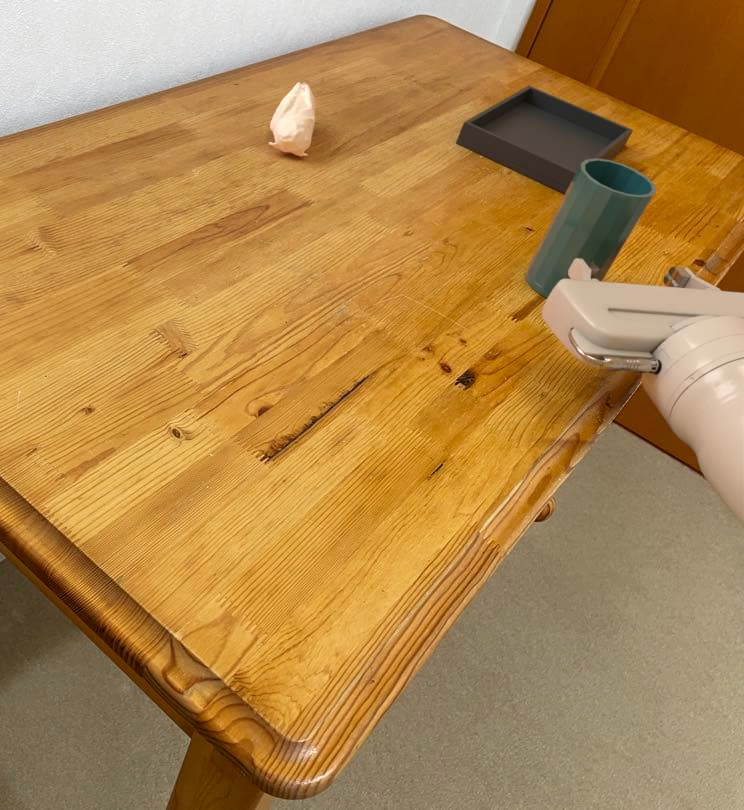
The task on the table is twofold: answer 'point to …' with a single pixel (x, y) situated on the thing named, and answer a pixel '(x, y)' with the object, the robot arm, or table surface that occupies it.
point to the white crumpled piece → (294, 121)
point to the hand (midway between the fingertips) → (626, 269)
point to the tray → (542, 136)
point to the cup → (590, 222)
